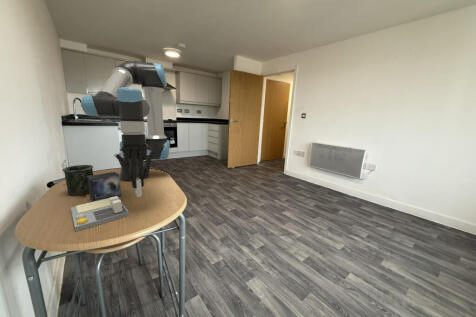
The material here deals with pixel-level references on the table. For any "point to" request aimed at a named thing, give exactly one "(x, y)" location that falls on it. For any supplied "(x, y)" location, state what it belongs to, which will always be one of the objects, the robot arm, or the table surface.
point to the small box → (104, 186)
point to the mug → (78, 179)
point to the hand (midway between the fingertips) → (138, 195)
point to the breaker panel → (95, 214)
